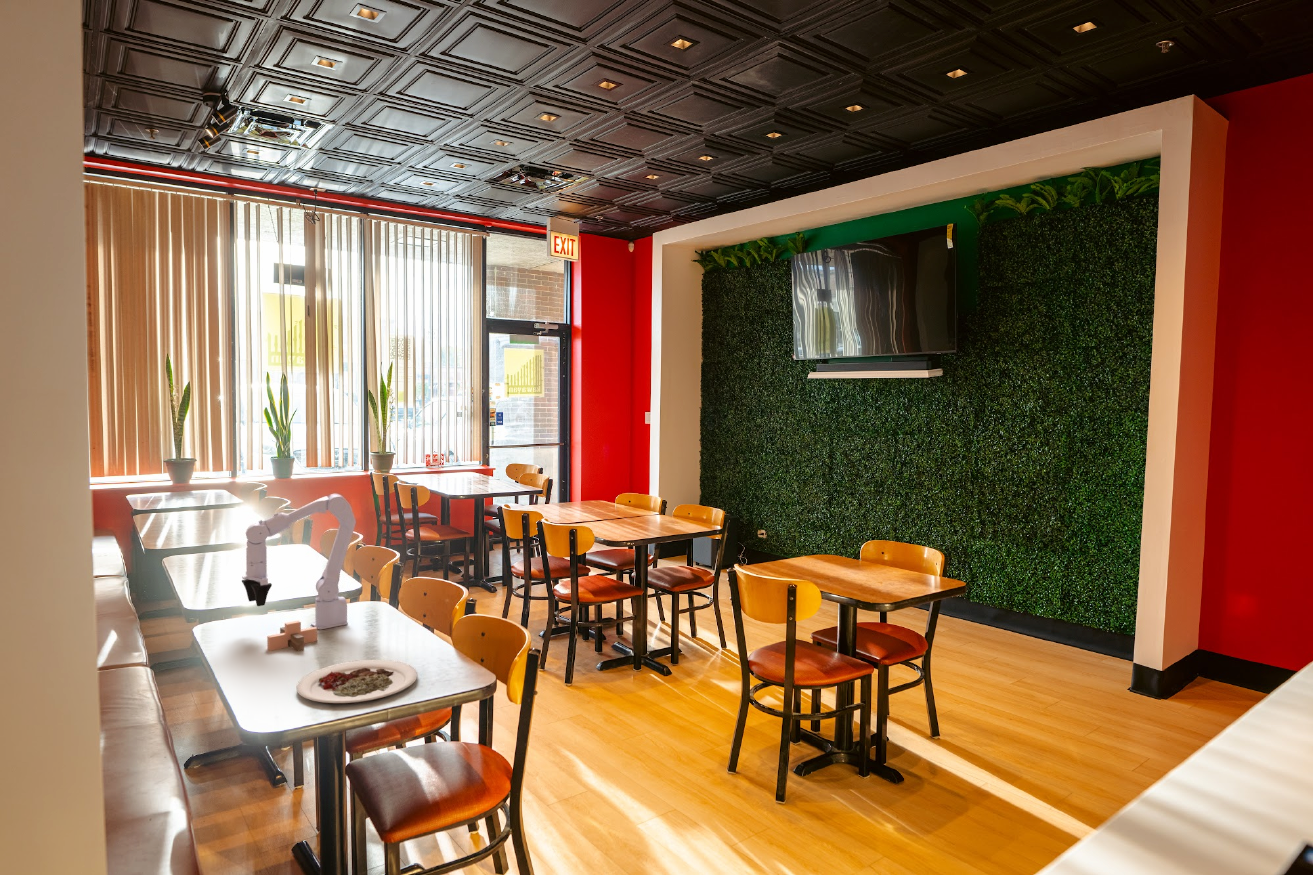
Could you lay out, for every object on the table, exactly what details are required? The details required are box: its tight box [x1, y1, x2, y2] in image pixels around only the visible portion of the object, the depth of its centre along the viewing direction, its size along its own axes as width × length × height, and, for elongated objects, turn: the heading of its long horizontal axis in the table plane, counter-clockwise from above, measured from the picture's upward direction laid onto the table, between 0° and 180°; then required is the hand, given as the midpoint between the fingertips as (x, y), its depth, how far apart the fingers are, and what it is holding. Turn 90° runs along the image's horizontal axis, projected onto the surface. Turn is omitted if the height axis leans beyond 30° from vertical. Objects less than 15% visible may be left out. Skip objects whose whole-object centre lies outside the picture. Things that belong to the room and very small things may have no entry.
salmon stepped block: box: [266, 620, 318, 652], centre depth 229 cm, size 14×2×7 cm, turn 136°
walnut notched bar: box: [279, 626, 305, 652], centre depth 229 cm, size 2×14×4 cm, turn 46°
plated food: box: [296, 659, 418, 704], centre depth 198 cm, size 30×30×3 cm
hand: (256, 603), depth 239 cm, fingers open, 7 cm apart
